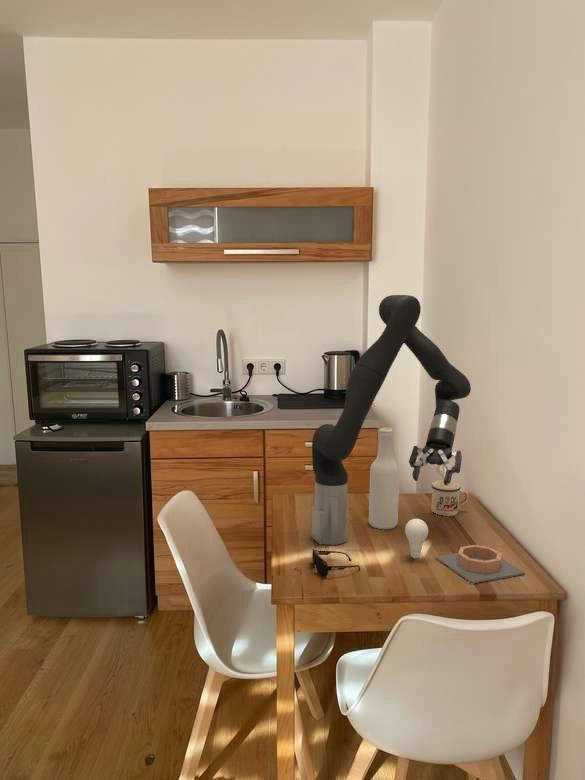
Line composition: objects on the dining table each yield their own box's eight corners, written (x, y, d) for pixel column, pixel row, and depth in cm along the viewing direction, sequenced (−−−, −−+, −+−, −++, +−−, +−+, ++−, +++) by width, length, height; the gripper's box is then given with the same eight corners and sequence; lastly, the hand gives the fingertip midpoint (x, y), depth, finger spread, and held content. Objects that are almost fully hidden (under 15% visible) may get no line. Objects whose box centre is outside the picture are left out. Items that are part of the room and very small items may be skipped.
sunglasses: (305, 563, 168) (308, 545, 167) (346, 563, 172) (349, 545, 171) (320, 580, 158) (323, 561, 157) (363, 580, 162) (366, 561, 162)
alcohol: (395, 519, 200) (399, 426, 195) (399, 530, 191) (403, 432, 186) (367, 519, 200) (370, 425, 195) (369, 529, 191) (372, 432, 187)
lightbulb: (429, 563, 168) (430, 523, 166) (405, 563, 168) (407, 523, 166) (424, 554, 174) (426, 515, 172) (402, 553, 174) (403, 515, 172)
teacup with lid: (434, 516, 203) (436, 481, 201) (427, 507, 212) (428, 473, 210) (471, 516, 203) (473, 481, 201) (463, 507, 212) (465, 473, 210)
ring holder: (472, 584, 156) (473, 570, 156) (435, 558, 171) (436, 546, 170) (524, 574, 162) (525, 561, 161) (484, 550, 177) (485, 538, 176)
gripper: (415, 424, 187) (403, 471, 179) (464, 428, 181) (454, 478, 173) (420, 437, 193) (408, 484, 185) (468, 442, 186) (457, 491, 178)
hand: (430, 481), depth 179 cm, fingers open, 8 cm apart
